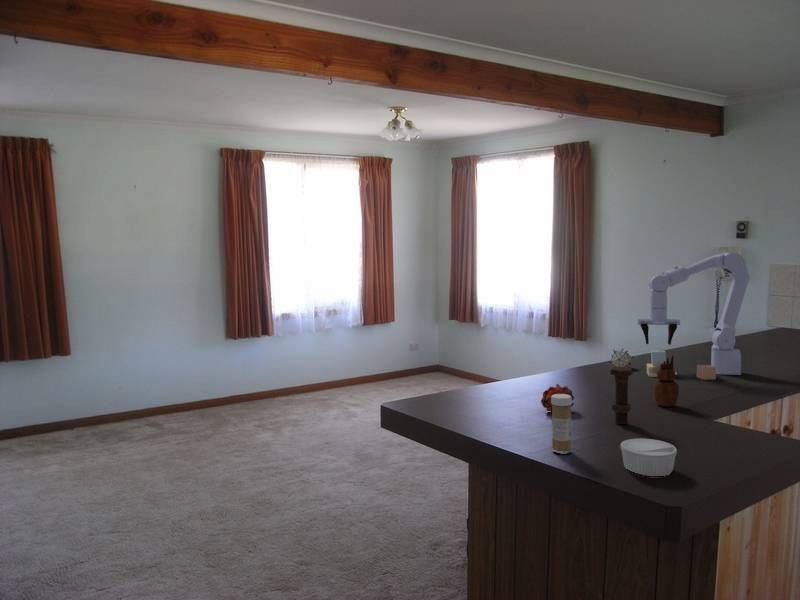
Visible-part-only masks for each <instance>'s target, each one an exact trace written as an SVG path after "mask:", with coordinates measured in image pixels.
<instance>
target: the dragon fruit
mask: <svg viewBox="0 0 800 600" xmlns="http://www.w3.org/2000/svg"><path fill="white" fill-rule="evenodd" d="M555 394H567V395H570V396H571V398H572V401H574V400H575V396H574V395H573V391H572V390H571V389H570V388H569V387H568V386H566V385H564V386H563V387H562V386H560V384H558V383H557V384H556V386H550V387H549V388H548V389H546V390H544V391H543V392H542V398H541V400H540V403H541V405H542V407H543V408H545V409H546V410H545V411H551V412H552V403H551V396H552V395H555ZM574 405H575V403H574V402H572V404H571V408H572V407H573V406H574Z"/></svg>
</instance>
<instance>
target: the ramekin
mask: <svg viewBox="0 0 800 600" xmlns="http://www.w3.org/2000/svg"><path fill="white" fill-rule="evenodd" d="M620 450H621V453H622V454H621V455H622V461H623V466H624V468H625V469H626V470H627V469H628V470H630V471H632V472H635V473H638V474H642V475H647V476H664V477H667V476H669V475H670V474H671V473H672V472H673V470H674V466H675V461H676V460H675V459H676V456H677V454H678V449H677V448H676V447H675V445H673V444H671V443H669V442H667V441H666V442H665V441H663V440H659V439H651V438H641V437H640V438H630V439H625V440H623V441H622V442H621V443H620ZM628 470H627V471H628ZM666 475H667V476H666Z"/></svg>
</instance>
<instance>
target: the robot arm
mask: <svg viewBox="0 0 800 600" xmlns="http://www.w3.org/2000/svg"><path fill="white" fill-rule="evenodd" d="M746 264H747V261H746V260H745V257H743V256H742V255H741V254H740V253H738V252H733V251H732V252H729V251H724V252H722V253H717V254H714V255H711V256H708V257H706V258H704V259H702V260H699V261H698V262H696V263H693V264H691V265H688V266H687V267H684V266H682V265H679V266H678V265H677V266H676V265H675V266H674V267H673V268H672V269H670V270H668V271H665V272H664V271H662V272H660V275H659V274H657V275H654V276H653V277H651V278H650V280H649V282H648V286H649V287H650V296H649V297H650V299H649V300H650V301H649V303H650V304H649V305H650V309H649V310H650V316H649V318H637V320H636V321H637V325H638V326H640V327H641V330H642V332H643V335H644V339H645V345H649V342H650V341H649V329H650V328H649V325H650V326H651V325H652V326H653V325H654V326H667V328H668V329H667V333H668V334H667V335H668V337H667V345H669V346H670V345H671V344H672V341H673V337H674V334H675V332H676V330H677V329H678V326H681V319H678V318H677V319H674V318H668V295H667V294H668V291H667V290H668V289H669V287H670V288H673V287H674V286H677V285H679V284H681V283H684V282H687V281H688V280H689V277H690V276H692V275H695V274H698V273H701V272H703V271H706V270H709V269H711V268H721V270H723V271H724V272H726V273H727V274H728V276H729V277H730V278H731V283H730V287H729V290H728V293H727V296H726V300H725V302H724V303H725V304H724V307H723V310H722V312H721V315H720V319H719V322H718V323H717V324H716V327H715V329H714V330H713V331H712V332H711V334H710V336H709V337H710V341H711V343H712V346H711V352H710V353H711V358H710V359H711V362H710V365H711V366H714V367H716V375H725V376H728V375H729V376H730V375H731V376H732V375H733V376H735V375H737V376H741V375H742V353H741V350H740V349H737V348H736V349H735V345H736V333H737V332H736V331H737V329H736V323H737V320H738V317H739V314H740V310H741V307H742V304H743V301H744V297H745V294H746V291H747V287H748V285H749V281H750V274H749V271H748V268H747V265H746Z"/></svg>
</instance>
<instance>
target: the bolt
mask: <svg viewBox="0 0 800 600" xmlns="http://www.w3.org/2000/svg"><path fill="white" fill-rule="evenodd" d="M610 375H613V376H614V383H615V386H614V387H615V388H614V389H615V392H614V394H615V396H614V398H615V399H614V400H615V402H613V403H612V404H611V410H612V411H613V412H614V413H615V414H614V415H615V416H614V417H615V418H614V421H615V422H614V423H615V424H616V423H617V424H616V425H620V424H626V425H627V424H628V419H629V418H628V417H629V415H628V413H630V412H631V410H632V409H631V408H632V406H631V404H630V403H629V402H628V399H629V397H628V396H629V395H628V393H629V390H628V389H629V386H628V384H629V377H630V376H632V375H633V369H632V368H631V367H615V366H614V367H611V369H610Z"/></svg>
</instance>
